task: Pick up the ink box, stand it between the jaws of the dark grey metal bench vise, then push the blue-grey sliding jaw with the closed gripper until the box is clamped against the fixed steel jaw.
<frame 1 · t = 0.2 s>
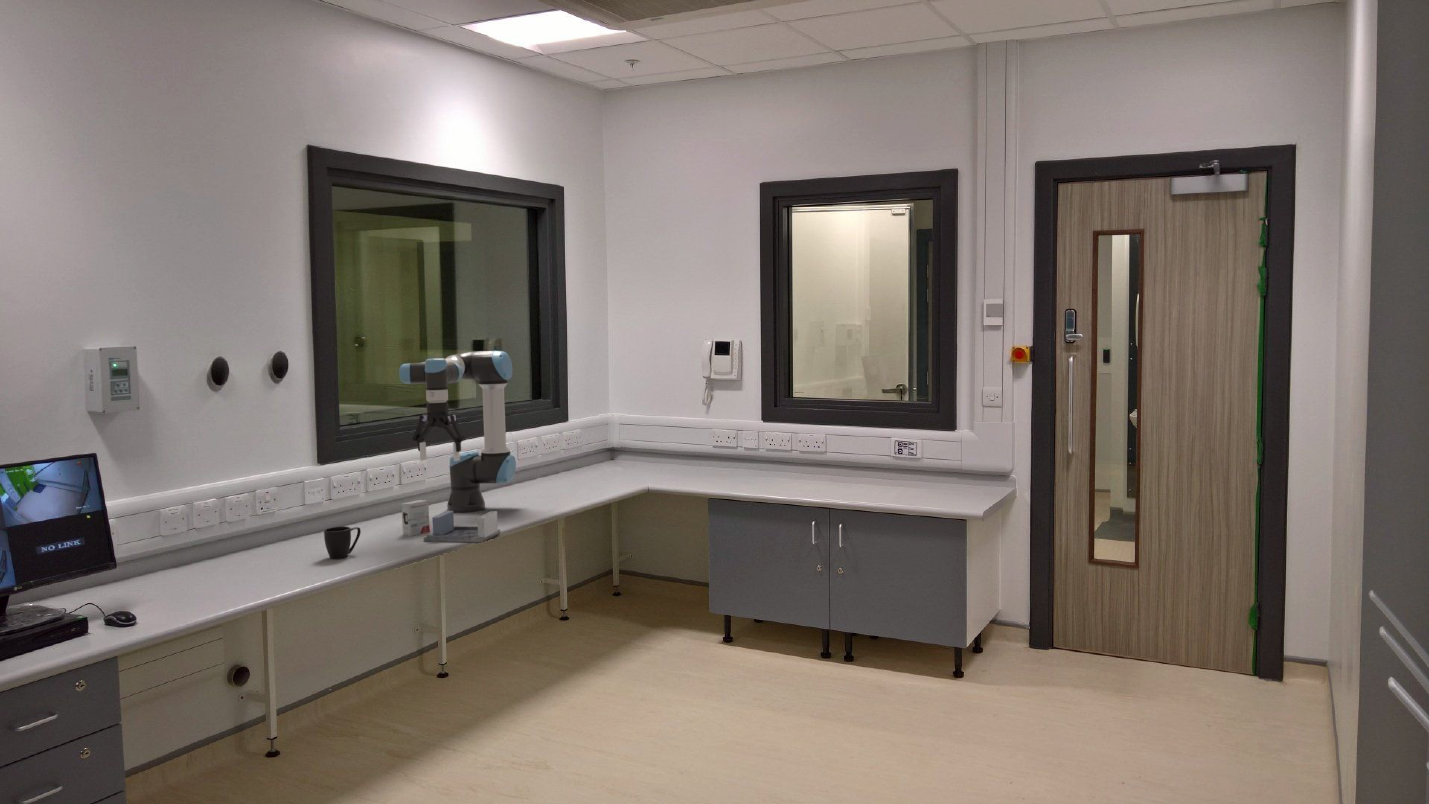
hand: (440, 460, 360), 27 cm above the table, fingers open, 13 cm apart
mug: (344, 556, 333), on the table
ink box: (416, 534, 367), on the table
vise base: (462, 537, 358), on the table
sliding jaw: (443, 523, 359), point 5 cm above the table, slide at 0.0 cm
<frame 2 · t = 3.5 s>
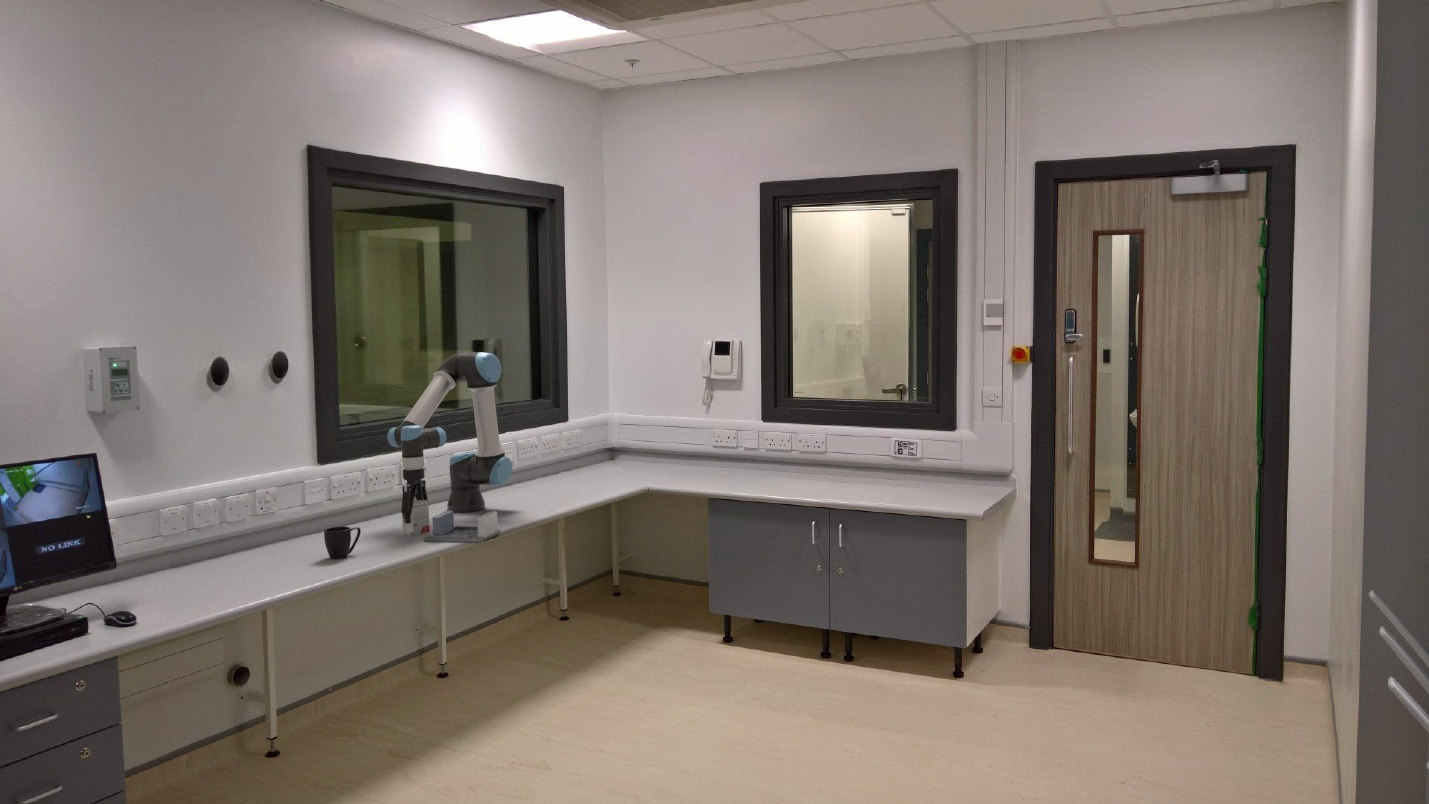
hand: (416, 529, 366), 2 cm above the table, fingers closed on ink box, 9 cm apart
ink box: (416, 533, 367), on the table, touching gripper
everything else where it was.
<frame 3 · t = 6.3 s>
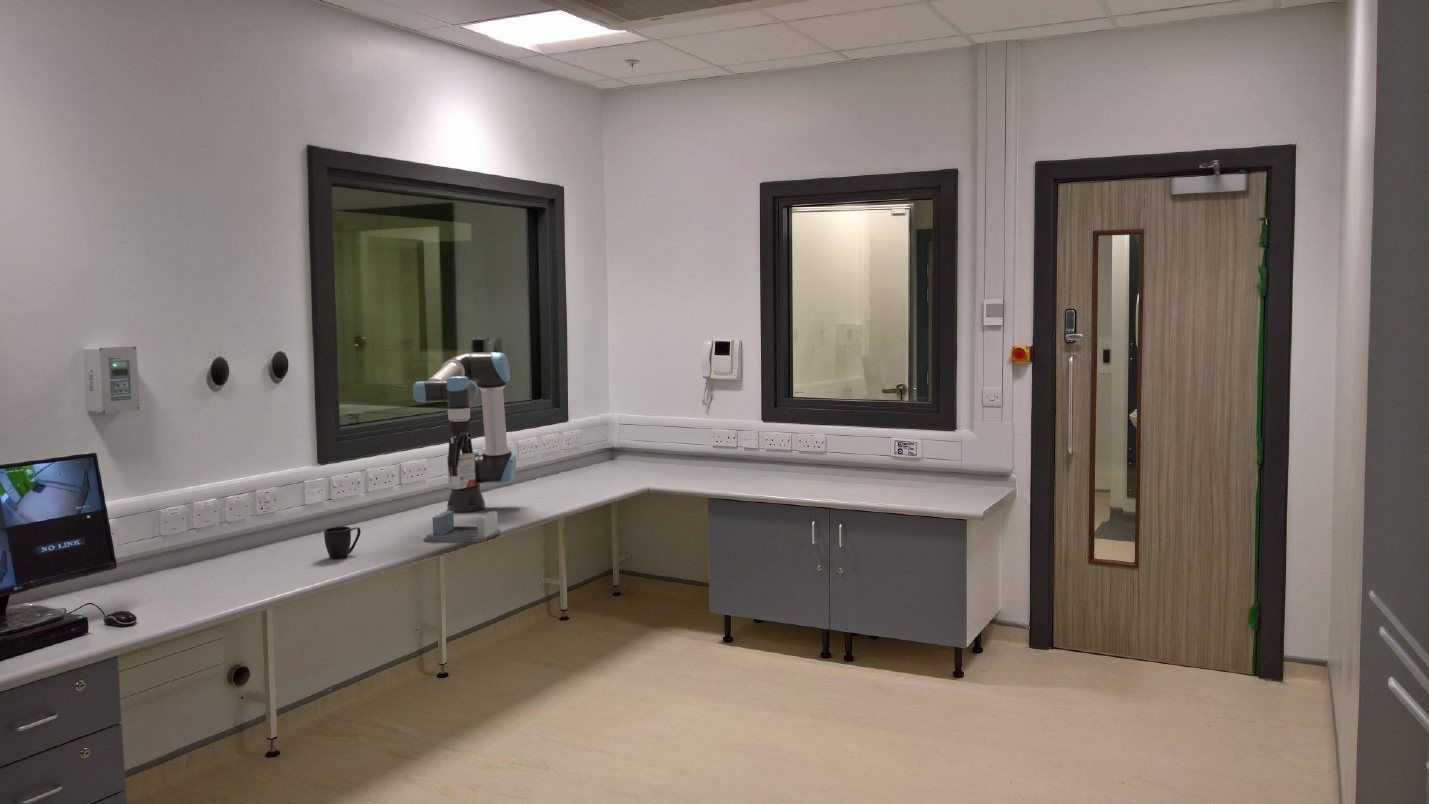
hand: (462, 482, 357), 20 cm above the table, fingers closed on ink box, 9 cm apart
ink box: (462, 487, 357), point 18 cm above the table, touching gripper
everything else where it was.
when the fingers open (4 cm above the table, at t = 9.2 s): ink box drops 1 cm, resting on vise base.
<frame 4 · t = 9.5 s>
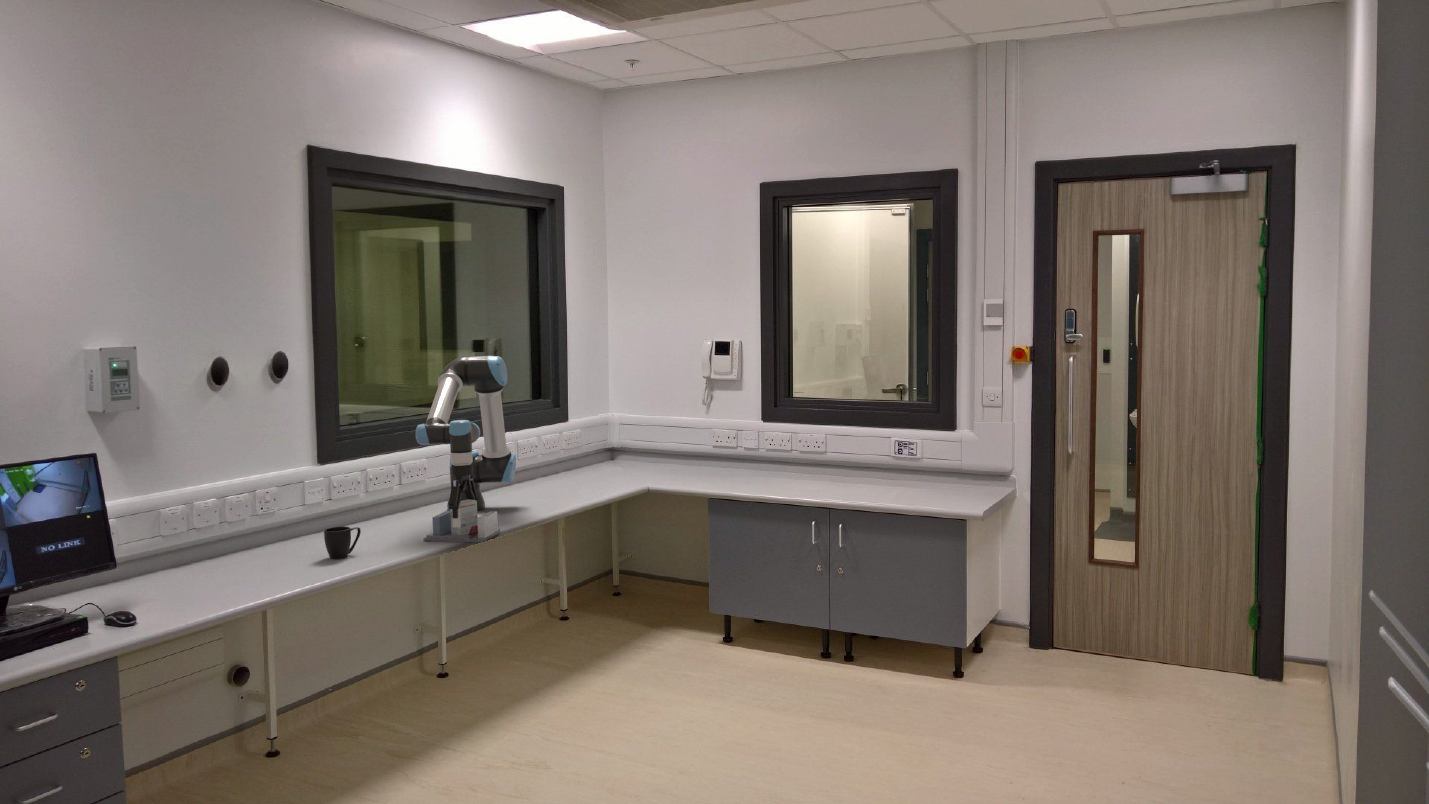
hand: (464, 523, 358), 5 cm above the table, fingers open, 12 cm apart
ink box: (464, 534, 358), point 1 cm above the table, touching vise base
everything else where it was.
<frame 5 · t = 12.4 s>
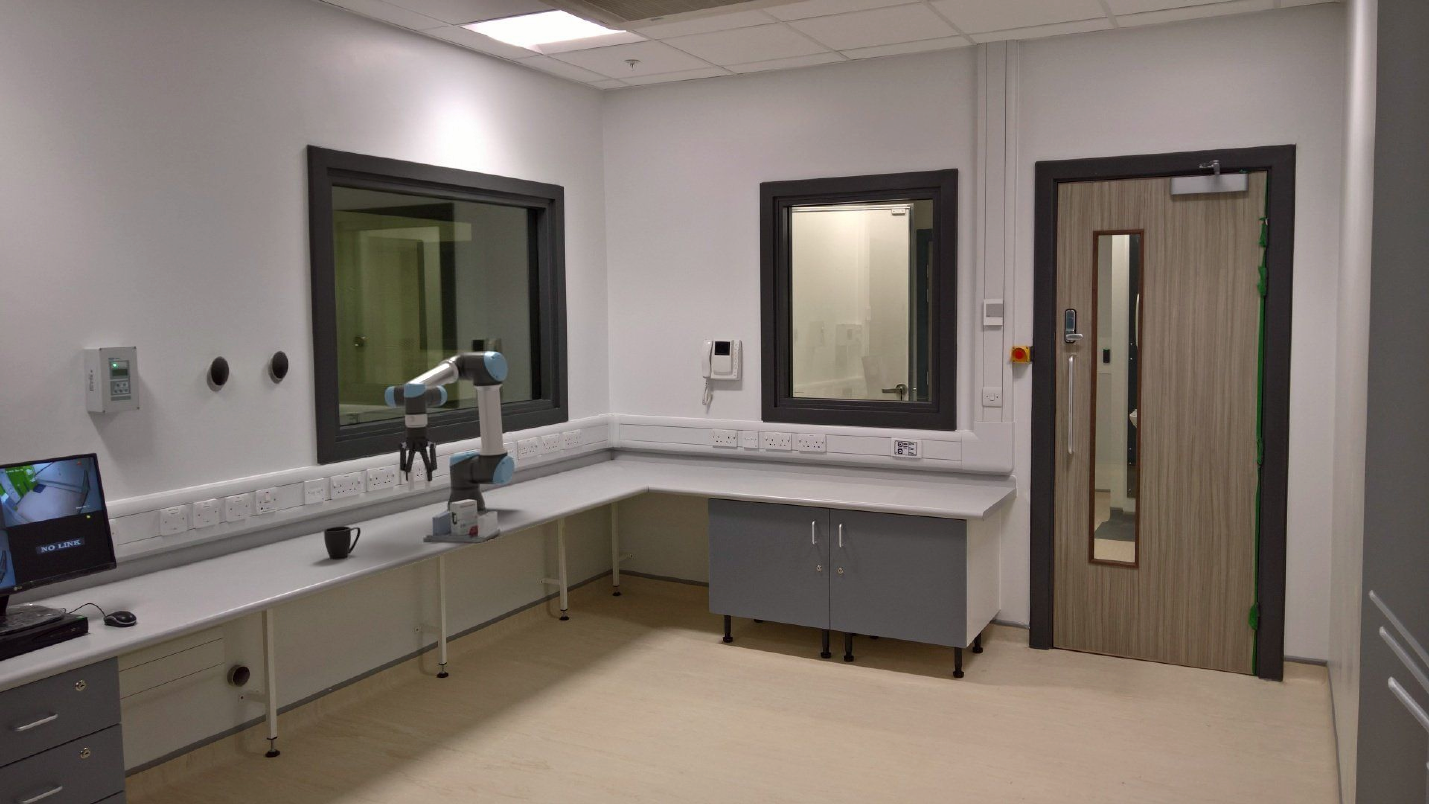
hand: (419, 490, 360), 17 cm above the table, fingers open, 6 cm apart
nothing on the table moved.
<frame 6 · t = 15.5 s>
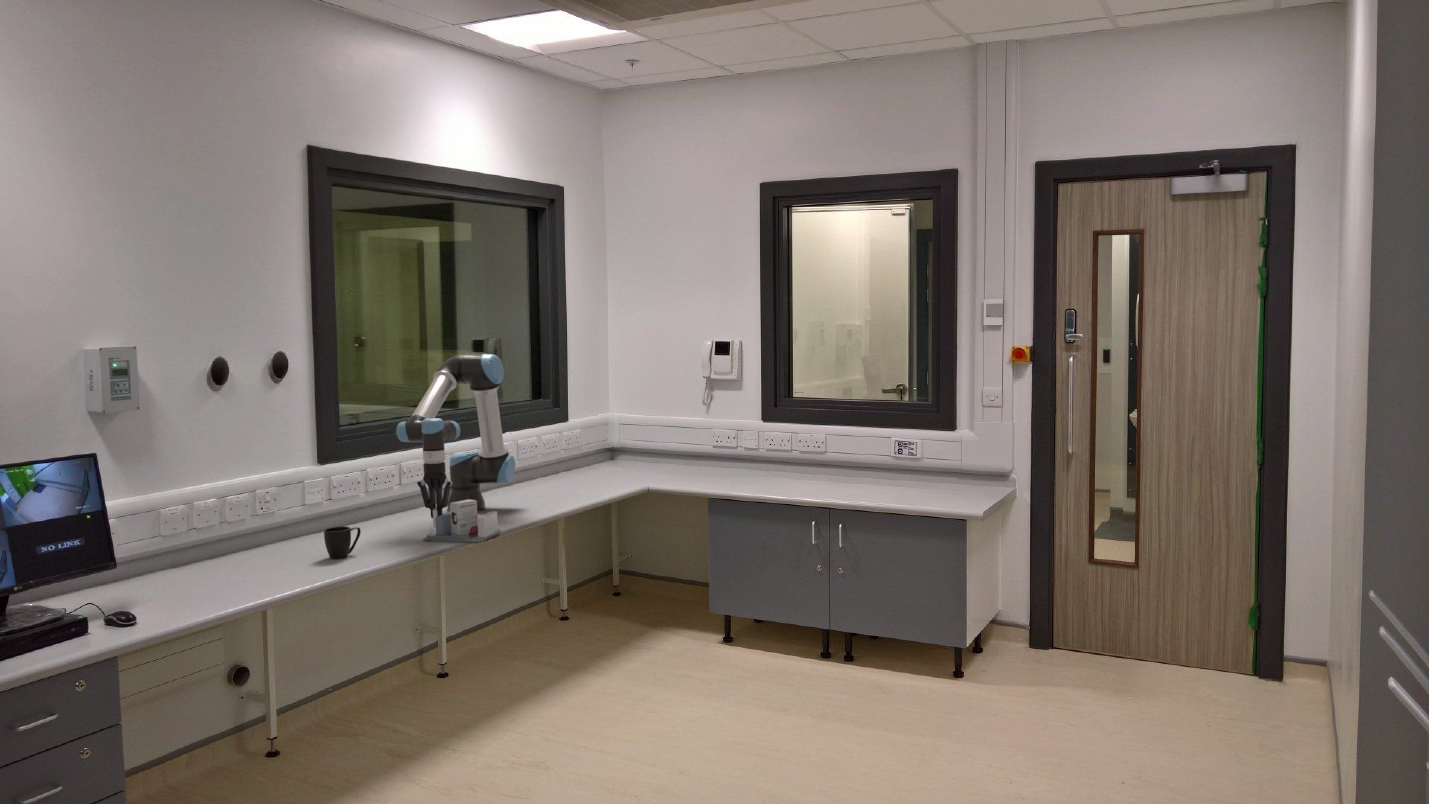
hand: (437, 527, 360), 3 cm above the table, fingers closed
sliding jaw: (446, 523, 359), point 5 cm above the table, slide at 1.2 cm, touching gripper
everything else where it was.
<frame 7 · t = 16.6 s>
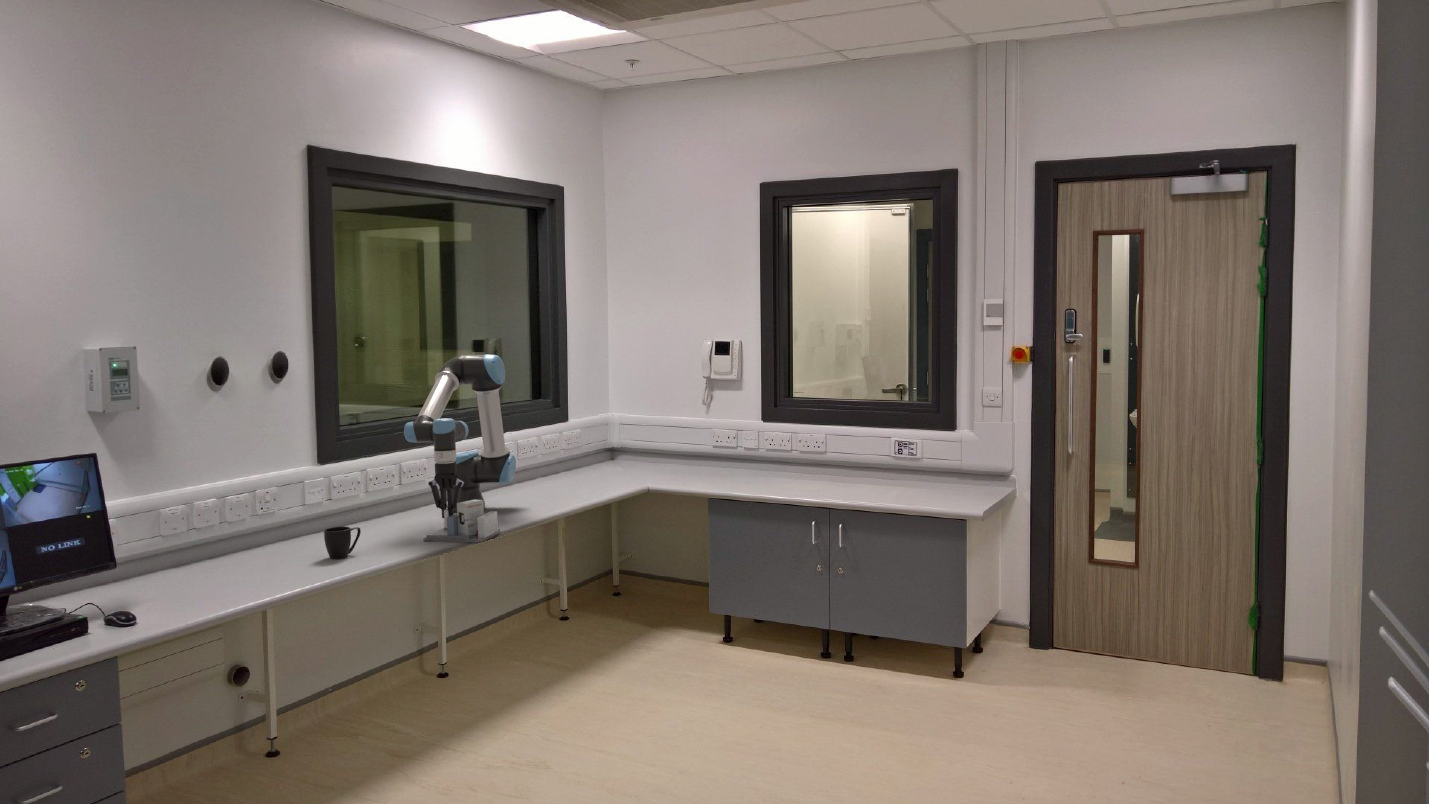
hand: (448, 527, 359), 3 cm above the table, fingers closed
ink box: (471, 534, 358), point 1 cm above the table, touching sliding jaw, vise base
sliding jaw: (457, 523, 358), point 5 cm above the table, slide at 5.4 cm, touching gripper, ink box
everything else where it was.
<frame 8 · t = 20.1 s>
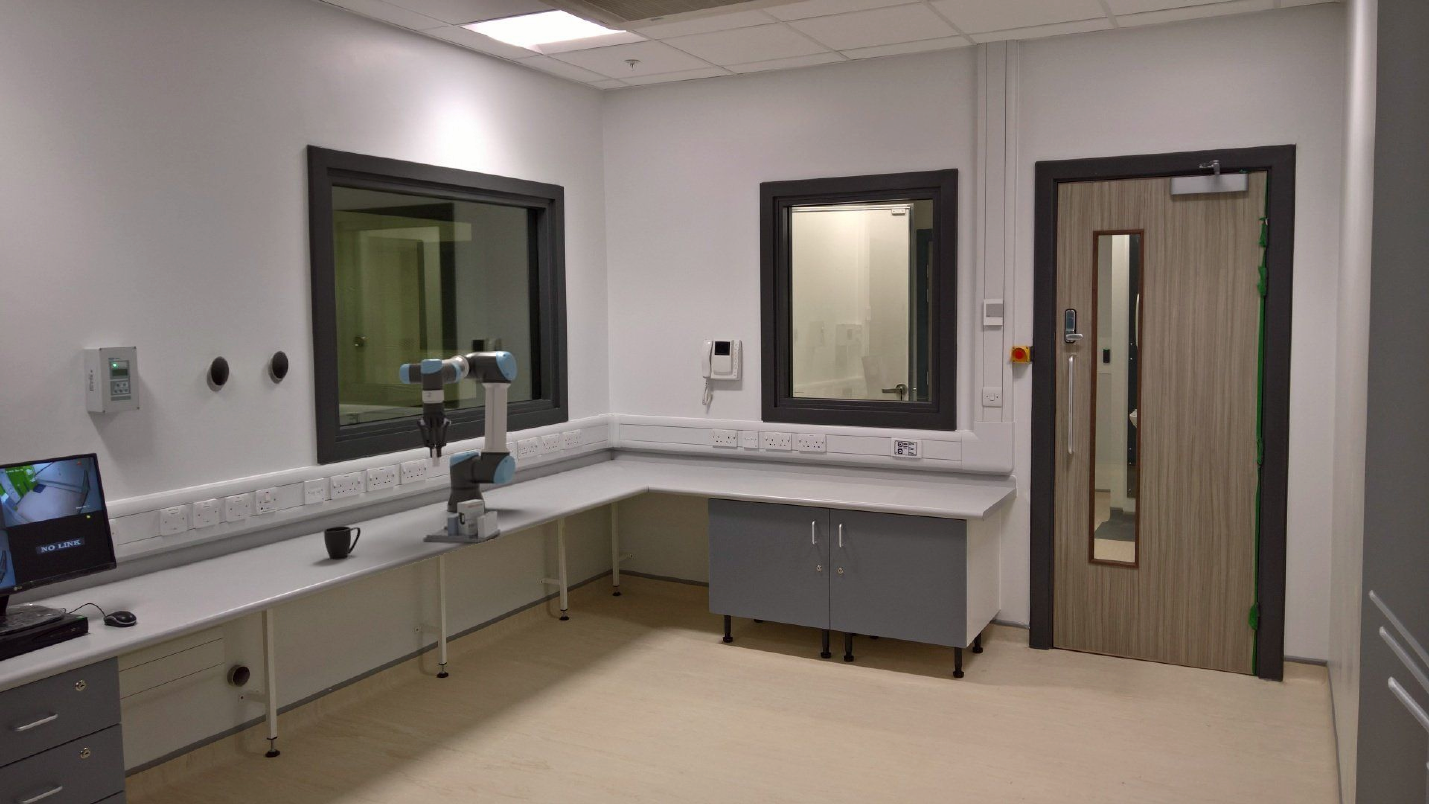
hand: (436, 466, 365), 24 cm above the table, fingers closed
ink box: (472, 534, 358), point 1 cm above the table, touching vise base
sliding jaw: (458, 523, 358), point 5 cm above the table, slide at 5.5 cm
everything else where it was.
at the end: ink box inside the target area (0.4 cm from its centre), point 1.0 cm above the table; ink box tilted 0°; sliding jaw slide at 5.5 cm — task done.
